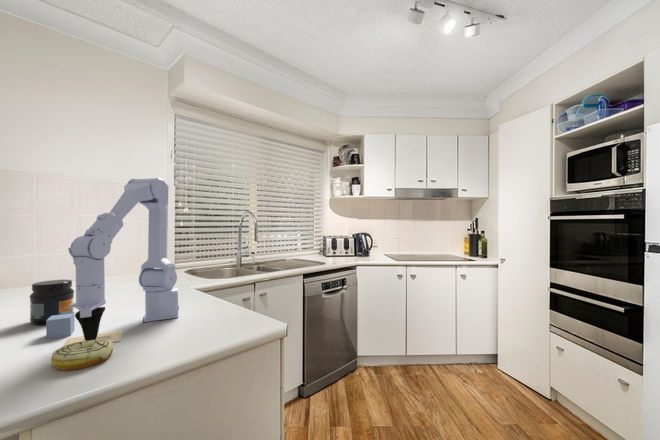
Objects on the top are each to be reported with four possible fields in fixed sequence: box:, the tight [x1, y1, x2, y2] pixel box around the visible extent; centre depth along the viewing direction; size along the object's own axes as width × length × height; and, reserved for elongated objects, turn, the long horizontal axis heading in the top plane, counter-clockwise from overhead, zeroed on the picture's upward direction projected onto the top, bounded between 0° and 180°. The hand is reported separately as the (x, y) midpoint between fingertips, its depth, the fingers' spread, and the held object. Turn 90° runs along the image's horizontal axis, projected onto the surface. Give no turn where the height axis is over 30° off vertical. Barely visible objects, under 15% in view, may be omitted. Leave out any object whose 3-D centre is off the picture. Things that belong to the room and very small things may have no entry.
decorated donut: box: [50, 339, 114, 371], centre depth 71 cm, size 10×11×4 cm
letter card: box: [61, 330, 123, 347], centre depth 83 cm, size 12×9×1 cm
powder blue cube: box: [45, 312, 75, 340], centre depth 88 cm, size 5×5×5 cm
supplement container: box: [29, 279, 75, 326], centre depth 101 cm, size 10×10×12 cm
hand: (91, 339), depth 80 cm, fingers closed
